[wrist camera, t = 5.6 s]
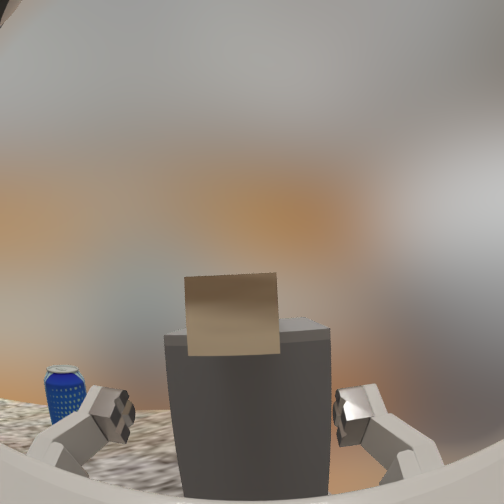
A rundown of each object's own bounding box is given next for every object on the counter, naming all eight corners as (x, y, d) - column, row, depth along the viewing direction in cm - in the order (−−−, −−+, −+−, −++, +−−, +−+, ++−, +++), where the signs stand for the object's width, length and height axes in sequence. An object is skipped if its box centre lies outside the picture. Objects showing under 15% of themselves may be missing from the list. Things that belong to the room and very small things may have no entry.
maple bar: (280, 353, 13) (276, 272, 13) (188, 355, 13) (184, 276, 13) (270, 318, 36) (268, 289, 37) (236, 320, 36) (235, 291, 37)
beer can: (92, 434, 48) (81, 363, 51) (99, 450, 42) (85, 372, 44) (56, 436, 43) (42, 363, 46) (58, 453, 37) (41, 373, 39)
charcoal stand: (320, 563, 17) (330, 328, 21) (201, 565, 17) (163, 334, 21) (306, 496, 31) (304, 317, 35) (218, 499, 31) (201, 322, 35)
